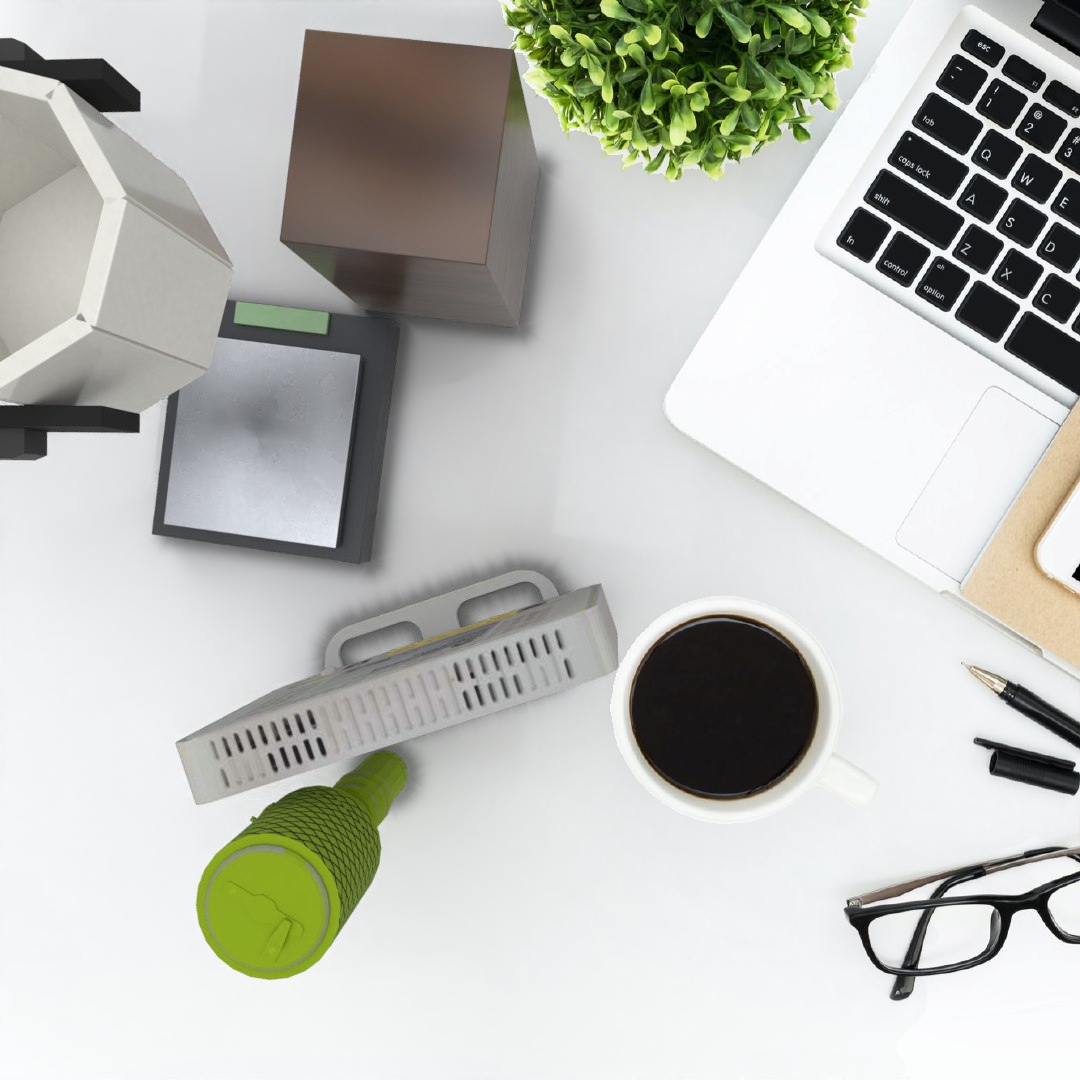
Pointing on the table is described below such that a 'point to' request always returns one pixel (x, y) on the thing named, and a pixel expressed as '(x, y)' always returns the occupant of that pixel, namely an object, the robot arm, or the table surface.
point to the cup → (97, 259)
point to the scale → (379, 354)
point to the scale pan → (266, 443)
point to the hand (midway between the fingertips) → (123, 253)
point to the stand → (413, 175)
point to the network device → (407, 685)
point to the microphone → (298, 872)
